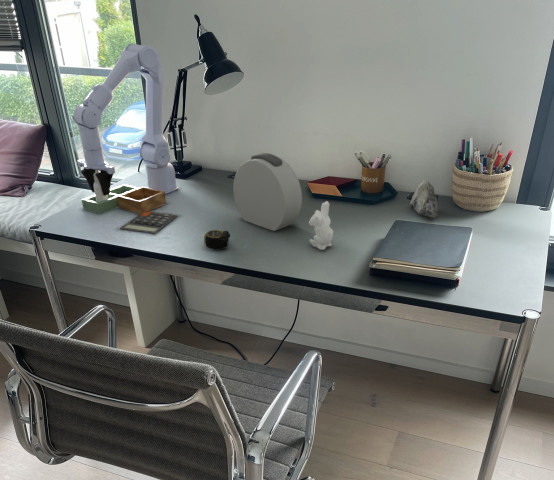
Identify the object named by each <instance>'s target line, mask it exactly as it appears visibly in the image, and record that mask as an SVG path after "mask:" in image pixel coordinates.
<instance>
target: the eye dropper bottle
mask: <svg viewBox="0 0 554 480" xmlns="http://www.w3.org/2000/svg"><path fill="white" fill-rule="evenodd" d="M99 172H100V171H98V170H95V173H94V174H93V175H94V180H95V182H94V195H95V197H96V202H101V201H104V200H107V199H108V196H107V195H103V192H102V189H101V185H100V183H99V180H98V178H97V177H96V175H95V174H96V173H99Z"/></svg>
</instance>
